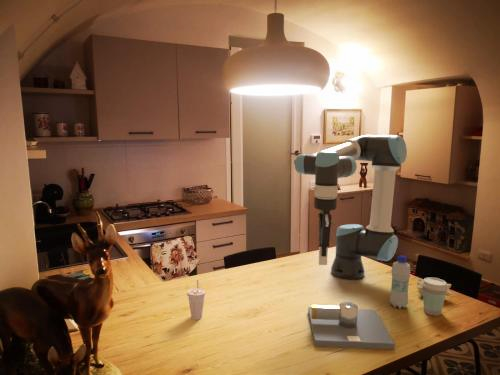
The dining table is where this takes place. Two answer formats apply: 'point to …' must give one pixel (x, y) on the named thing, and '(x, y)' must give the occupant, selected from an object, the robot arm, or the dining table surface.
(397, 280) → the bottle
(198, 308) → the smoothie
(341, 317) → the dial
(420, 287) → the cat figurine
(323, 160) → the robot arm
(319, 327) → the grey base plate
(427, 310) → the coffee cup
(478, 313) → the dining table surface
